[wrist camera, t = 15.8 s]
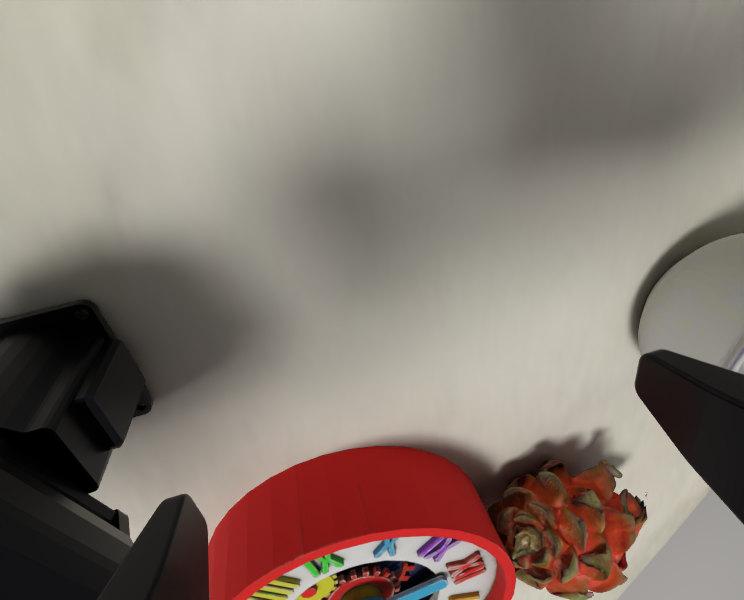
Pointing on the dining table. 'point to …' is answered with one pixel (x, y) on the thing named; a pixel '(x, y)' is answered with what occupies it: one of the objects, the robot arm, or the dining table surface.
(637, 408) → the dining table surface
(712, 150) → the dining table surface
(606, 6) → the dining table surface
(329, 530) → the toy clock
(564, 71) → the dining table surface
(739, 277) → the teacup
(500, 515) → the dragon fruit
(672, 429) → the robot arm
